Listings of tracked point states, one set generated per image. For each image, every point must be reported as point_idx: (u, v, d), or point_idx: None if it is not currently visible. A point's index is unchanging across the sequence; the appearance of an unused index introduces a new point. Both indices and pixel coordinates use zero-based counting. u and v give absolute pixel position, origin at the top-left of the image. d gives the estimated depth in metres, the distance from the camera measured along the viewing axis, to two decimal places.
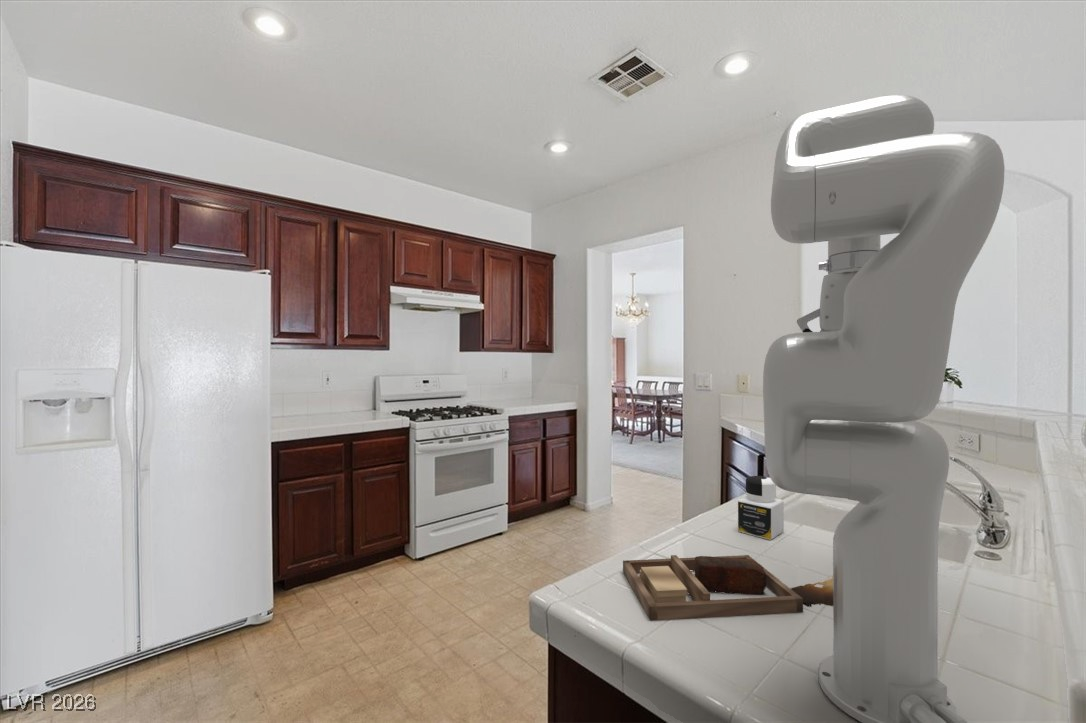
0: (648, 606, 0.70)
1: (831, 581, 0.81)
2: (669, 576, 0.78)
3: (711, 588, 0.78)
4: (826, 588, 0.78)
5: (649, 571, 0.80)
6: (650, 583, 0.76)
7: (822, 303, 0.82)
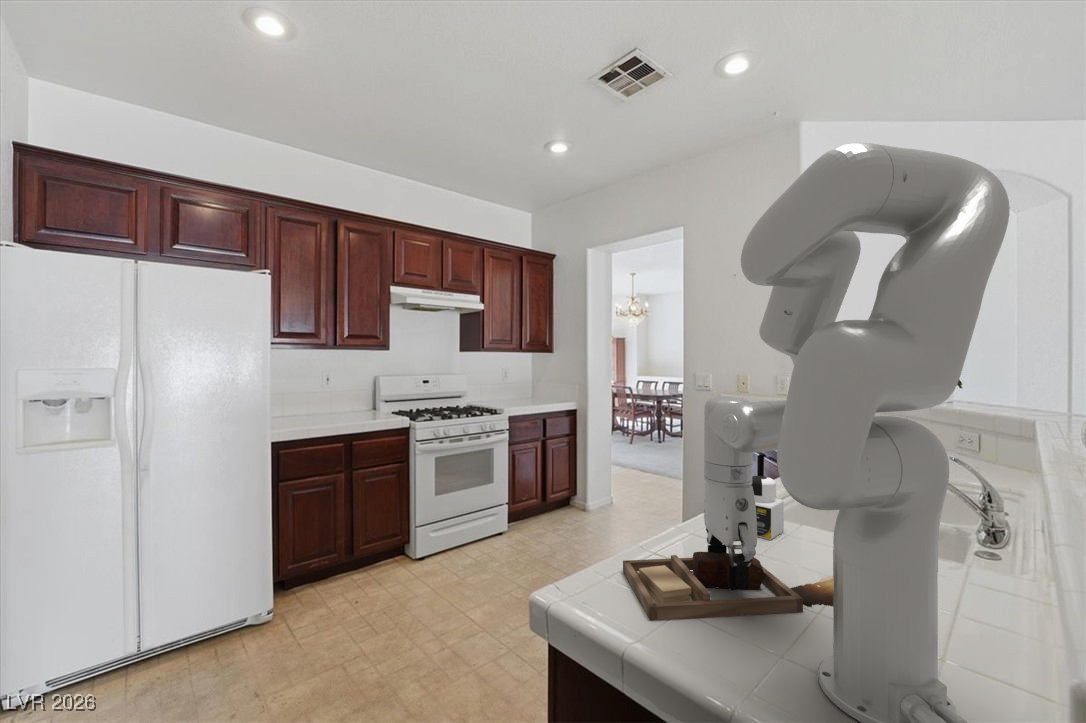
0: (648, 606, 0.70)
1: (831, 581, 0.81)
2: (669, 575, 0.78)
3: (710, 583, 0.79)
4: (826, 588, 0.78)
5: (648, 572, 0.79)
6: (653, 584, 0.76)
7: (755, 519, 0.75)
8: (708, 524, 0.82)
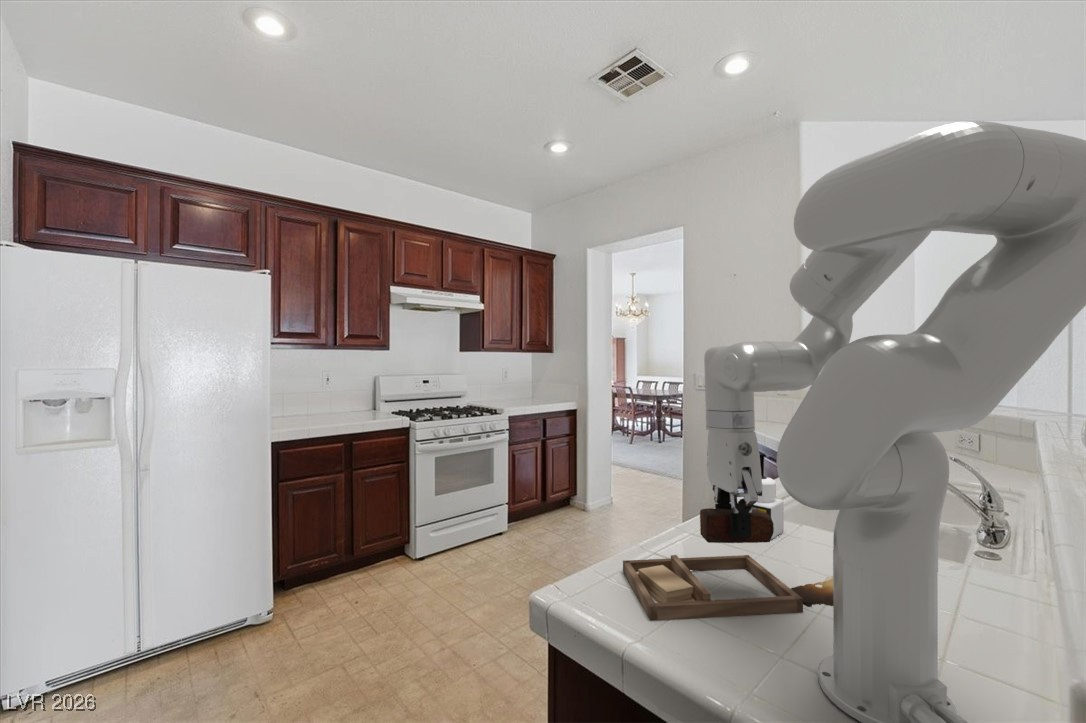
0: (648, 606, 0.70)
1: (831, 581, 0.81)
2: (669, 575, 0.78)
3: (719, 538, 0.76)
4: (826, 588, 0.78)
5: (648, 572, 0.79)
6: (655, 584, 0.76)
7: (759, 464, 0.74)
8: (712, 476, 0.80)
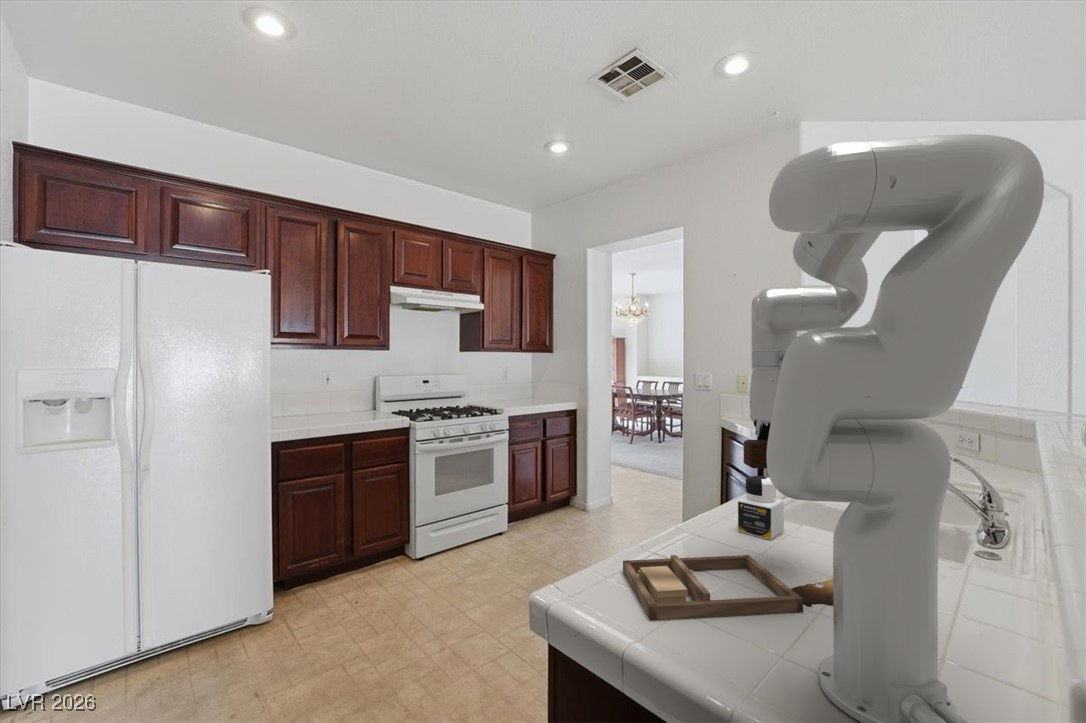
0: (648, 606, 0.70)
1: (831, 581, 0.81)
2: (669, 576, 0.78)
3: (762, 464, 0.86)
4: (826, 588, 0.78)
5: (648, 571, 0.80)
6: (650, 583, 0.76)
7: None
8: (755, 412, 0.89)
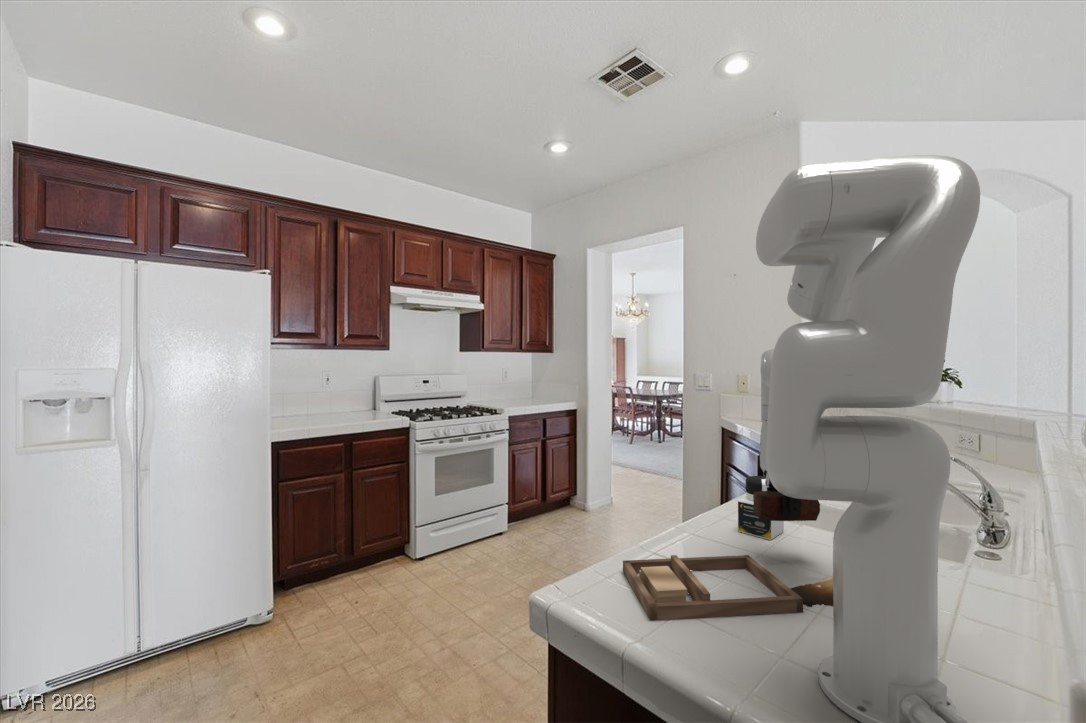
0: (648, 606, 0.70)
1: (831, 581, 0.81)
2: (669, 576, 0.78)
3: (772, 517, 0.87)
4: (826, 588, 0.78)
5: (649, 571, 0.80)
6: (650, 583, 0.76)
7: None
8: (765, 463, 0.91)
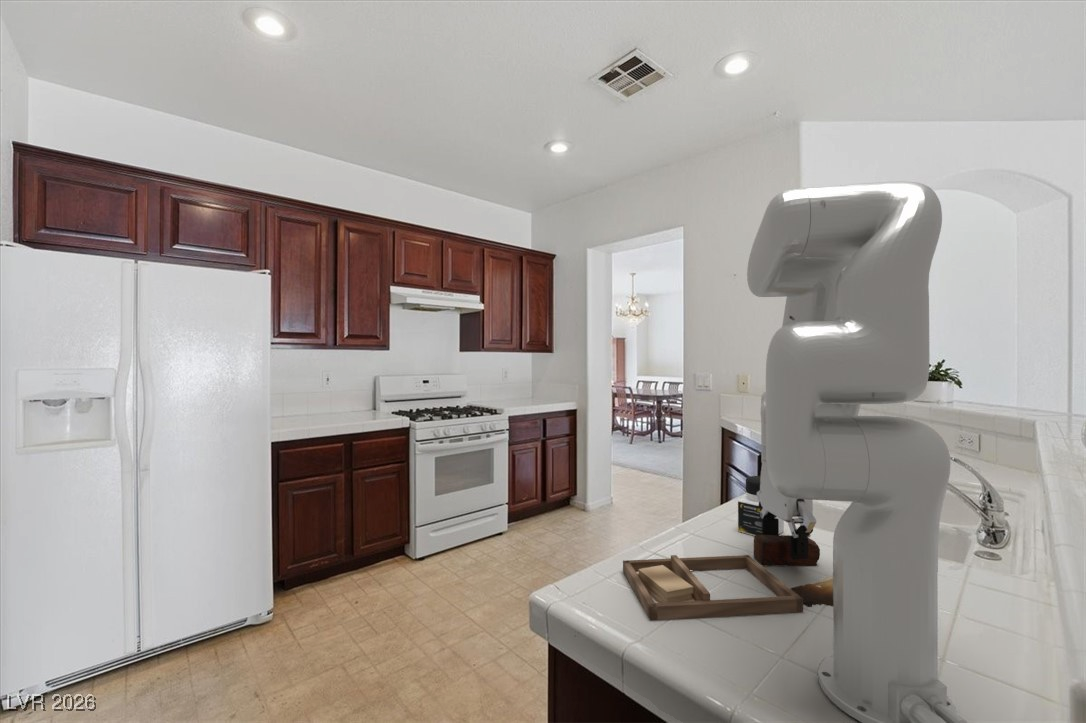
0: (648, 606, 0.70)
1: (831, 581, 0.81)
2: (670, 575, 0.78)
3: (773, 562, 0.87)
4: (826, 588, 0.78)
5: (648, 572, 0.79)
6: (655, 584, 0.76)
7: None
8: (765, 503, 0.91)
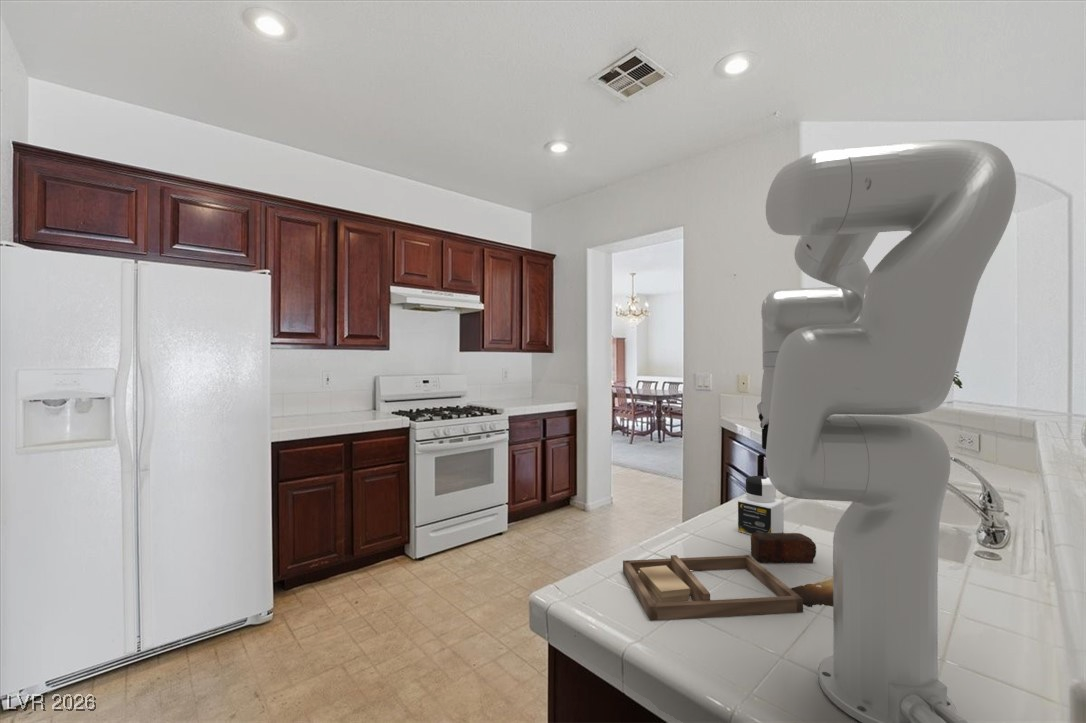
0: (648, 606, 0.70)
1: (831, 581, 0.81)
2: (669, 576, 0.78)
3: (769, 559, 0.88)
4: (826, 588, 0.78)
5: (649, 572, 0.80)
6: (652, 584, 0.76)
7: None
8: (766, 412, 0.91)
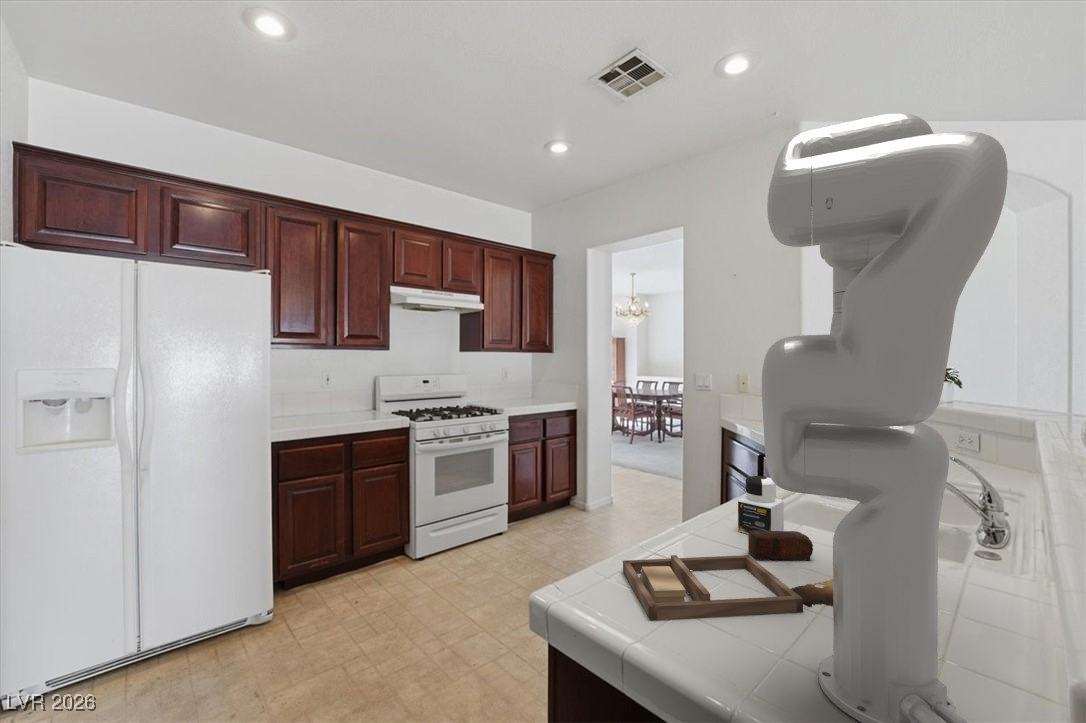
0: (648, 606, 0.70)
1: (831, 581, 0.81)
2: (669, 576, 0.78)
3: (766, 557, 0.90)
4: (826, 588, 0.78)
5: (649, 571, 0.80)
6: (649, 583, 0.76)
7: None
8: None
